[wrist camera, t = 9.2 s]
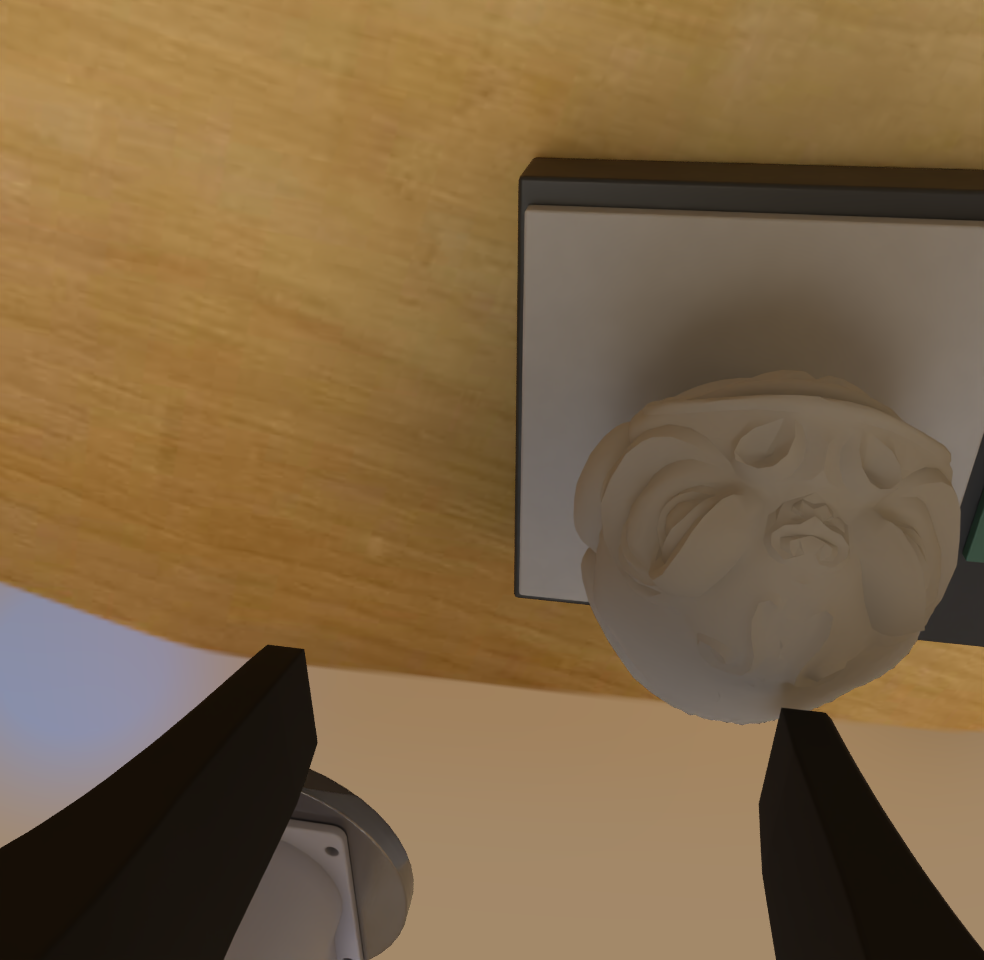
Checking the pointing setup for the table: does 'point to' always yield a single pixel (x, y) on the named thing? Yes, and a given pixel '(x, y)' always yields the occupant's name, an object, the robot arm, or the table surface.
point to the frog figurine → (765, 542)
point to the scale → (742, 321)
